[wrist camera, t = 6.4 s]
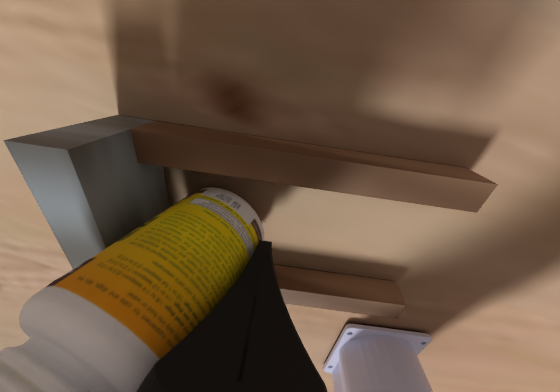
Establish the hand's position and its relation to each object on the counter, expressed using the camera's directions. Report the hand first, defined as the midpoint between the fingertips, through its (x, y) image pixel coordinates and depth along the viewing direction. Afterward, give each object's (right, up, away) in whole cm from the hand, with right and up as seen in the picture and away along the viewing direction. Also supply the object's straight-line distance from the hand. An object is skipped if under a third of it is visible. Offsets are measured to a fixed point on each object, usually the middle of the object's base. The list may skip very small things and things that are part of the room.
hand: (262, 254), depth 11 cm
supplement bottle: (-2, +2, +2) cm, 3 cm away
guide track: (+2, +1, +3) cm, 3 cm away
